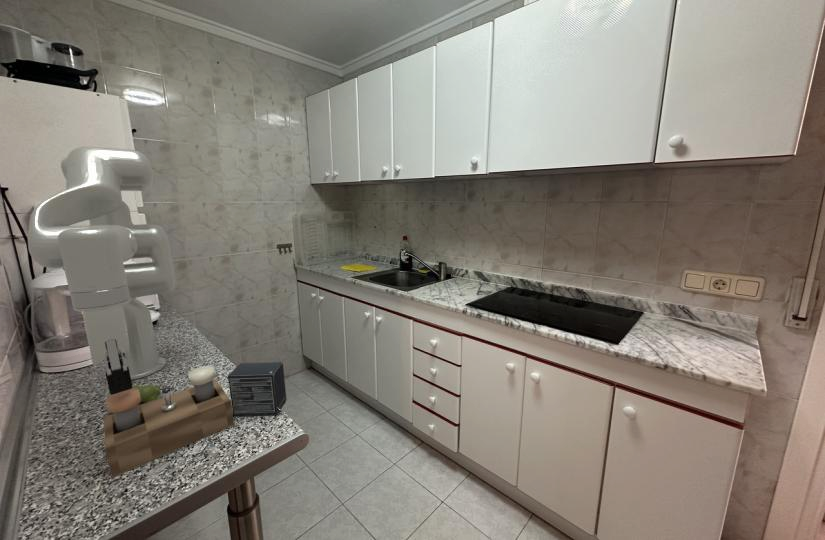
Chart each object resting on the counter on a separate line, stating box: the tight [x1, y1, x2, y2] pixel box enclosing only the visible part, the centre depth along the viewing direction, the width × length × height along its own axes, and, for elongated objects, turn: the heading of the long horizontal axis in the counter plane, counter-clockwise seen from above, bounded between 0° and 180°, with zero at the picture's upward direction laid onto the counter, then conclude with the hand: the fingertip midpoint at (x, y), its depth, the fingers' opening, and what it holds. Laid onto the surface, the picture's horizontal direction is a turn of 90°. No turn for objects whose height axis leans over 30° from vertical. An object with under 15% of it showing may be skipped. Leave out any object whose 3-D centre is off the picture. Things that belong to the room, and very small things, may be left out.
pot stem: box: [161, 386, 177, 412], centre depth 67 cm, size 2×2×5 cm
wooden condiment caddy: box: [103, 379, 235, 478], centre depth 68 cm, size 12×20×6 cm, turn 134°
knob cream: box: [188, 365, 217, 404], centre depth 71 cm, size 5×5×8 cm
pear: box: [105, 384, 161, 407], centre depth 78 cm, size 6×5×10 cm
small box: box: [227, 361, 287, 418], centre depth 76 cm, size 11×6×10 cm, turn 92°
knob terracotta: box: [105, 389, 142, 433], centre depth 63 cm, size 5×5×8 cm
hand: (121, 389), depth 61 cm, fingers closed
